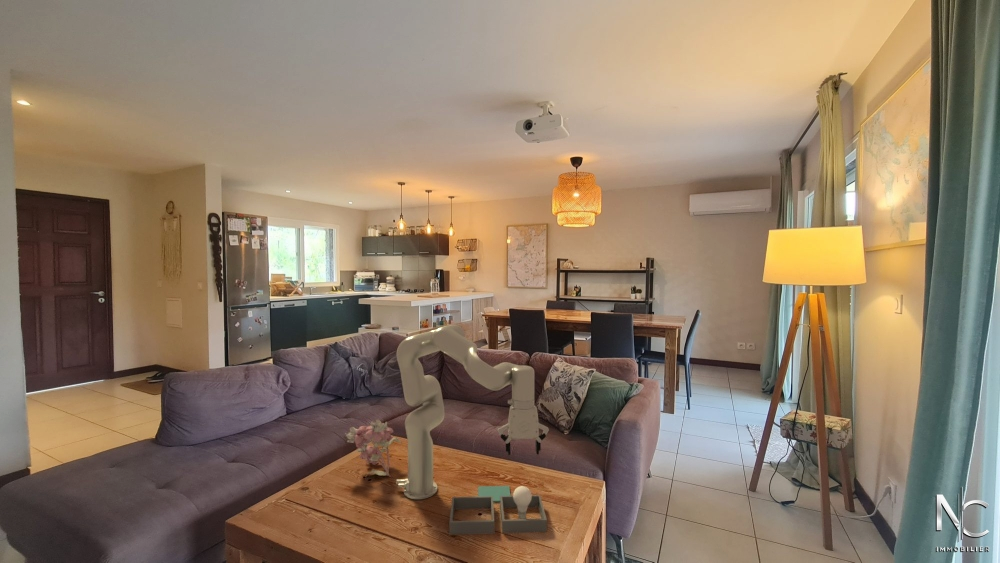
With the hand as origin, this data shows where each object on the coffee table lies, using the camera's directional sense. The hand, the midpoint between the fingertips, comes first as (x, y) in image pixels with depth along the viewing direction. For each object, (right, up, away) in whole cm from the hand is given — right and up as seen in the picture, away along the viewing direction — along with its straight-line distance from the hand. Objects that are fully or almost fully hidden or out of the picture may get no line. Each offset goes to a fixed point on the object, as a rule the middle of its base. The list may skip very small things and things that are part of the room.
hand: (523, 453), depth 140 cm
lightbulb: (0, -23, +1) cm, 23 cm away
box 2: (0, -23, +1) cm, 23 cm away
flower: (-61, -21, +35) cm, 73 cm away
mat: (-10, -22, +16) cm, 29 cm away
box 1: (-17, -23, 0) cm, 29 cm away
